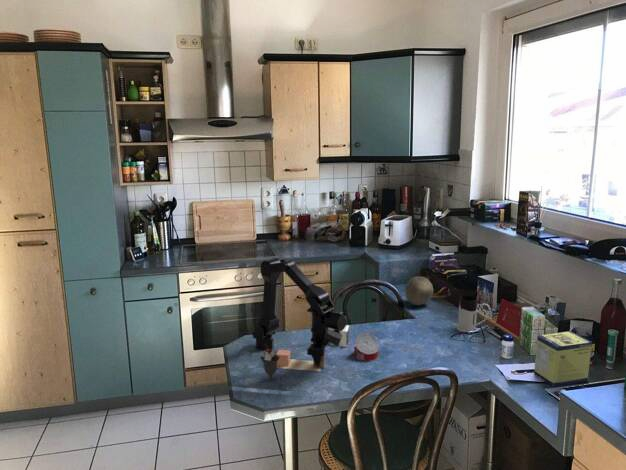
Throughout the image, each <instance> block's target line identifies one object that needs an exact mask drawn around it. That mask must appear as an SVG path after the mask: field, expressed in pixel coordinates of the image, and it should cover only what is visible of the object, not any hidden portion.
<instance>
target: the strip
mask: <svg viewBox="0 0 626 470" xmlns="http://www.w3.org/2000/svg"><path fill="white" fill-rule="evenodd" d="M312 359H313V358H312ZM325 365H326V353H325V354H324V356H322V357H321V362H320V366H317V365H316V363H315V361H314V359H313V360H309V359H308V360H305V359H293V358H292V359H291V358H290V363H289V365H288V366H277V368H276V369H285V370H286V369H288V370H301V371H311V372H313V371H314V372H321V370H322V369H325Z"/></svg>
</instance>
